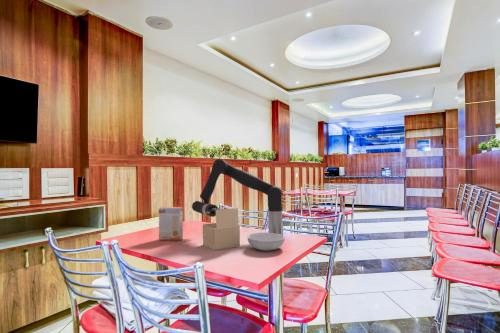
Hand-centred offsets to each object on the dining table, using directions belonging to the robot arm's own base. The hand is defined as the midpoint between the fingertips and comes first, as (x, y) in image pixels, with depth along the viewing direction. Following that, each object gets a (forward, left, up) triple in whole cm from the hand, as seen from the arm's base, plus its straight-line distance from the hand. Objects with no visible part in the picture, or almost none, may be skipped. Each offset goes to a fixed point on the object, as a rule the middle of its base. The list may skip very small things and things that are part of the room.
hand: (222, 213), depth 165 cm
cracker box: (+39, -5, -20) cm, 44 cm away
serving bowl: (-25, -4, -20) cm, 32 cm away
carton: (+2, -2, -19) cm, 19 cm away
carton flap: (-4, +3, -2) cm, 5 cm away
